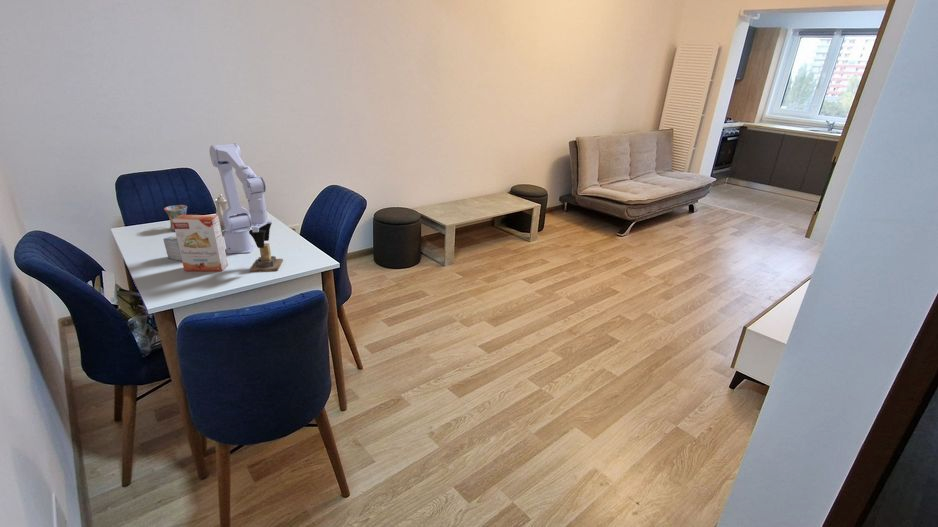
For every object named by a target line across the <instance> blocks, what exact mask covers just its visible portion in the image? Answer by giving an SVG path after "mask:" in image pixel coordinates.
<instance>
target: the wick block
mask: <svg viewBox="0 0 938 527" xmlns="http://www.w3.org/2000/svg"><path fill="white" fill-rule="evenodd" d="M259 254H260V257H261V261H271V260H272V259H271V256H272V252H271V246H270V243H266V242H264V248H259Z"/></svg>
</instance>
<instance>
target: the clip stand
mask: <svg viewBox="0 0 938 527" xmlns="http://www.w3.org/2000/svg"><path fill="white" fill-rule="evenodd" d="M271 259H272V260H271V261H261V256H259V257H258V258H257V259H256V260H255V261H254V263H253V264H252V265H251V267H250V268H249V272H250V273H255V272H256V273H257V272H258V273H259V271H261V272H278V271H279V269H280V267H281V266H282V263H283V261H284V259H283V258H277V257H276V256H275V255H271Z"/></svg>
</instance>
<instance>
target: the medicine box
mask: <svg viewBox="0 0 938 527" xmlns="http://www.w3.org/2000/svg"><path fill="white" fill-rule="evenodd" d="M163 244H164V248H165V250H166V255H167V259H169V258H170V259H171V260H176V261H182V258H181V254H180V250H179V246H178V241H177V237H176V235H170V236H166V237H165V238H163Z"/></svg>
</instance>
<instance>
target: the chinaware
mask: <svg viewBox="0 0 938 527" xmlns="http://www.w3.org/2000/svg"><path fill="white" fill-rule="evenodd" d="M213 201H214V203H215V206H216V213H215V215H218V216H219V222H220V226H221V230H224V232H225V231H227V230H226V229H225V227H224V223H223V213H224V212H225V211H226V210H227V209H228V204H227V200H226V196H223V194H219V195H218V197H217V198H216V199H213ZM246 209H247V210H248V211H249V213H250V210H249V208H246ZM240 214H243V213H240ZM236 215H239V214H236ZM231 216H233V215H231Z"/></svg>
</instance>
